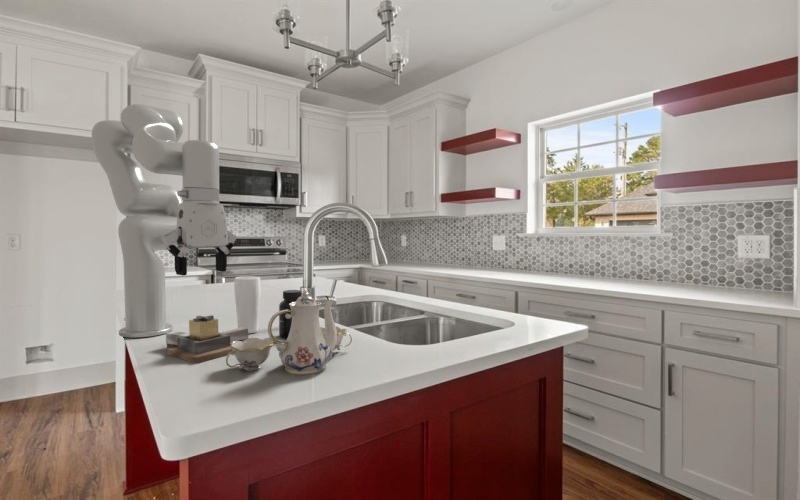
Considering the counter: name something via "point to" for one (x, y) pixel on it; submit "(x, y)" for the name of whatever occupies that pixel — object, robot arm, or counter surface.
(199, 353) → the shaft rig
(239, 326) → the drinking glass
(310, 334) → the chinaware
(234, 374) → the counter surface
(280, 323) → the supplement bottle
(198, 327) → the block
